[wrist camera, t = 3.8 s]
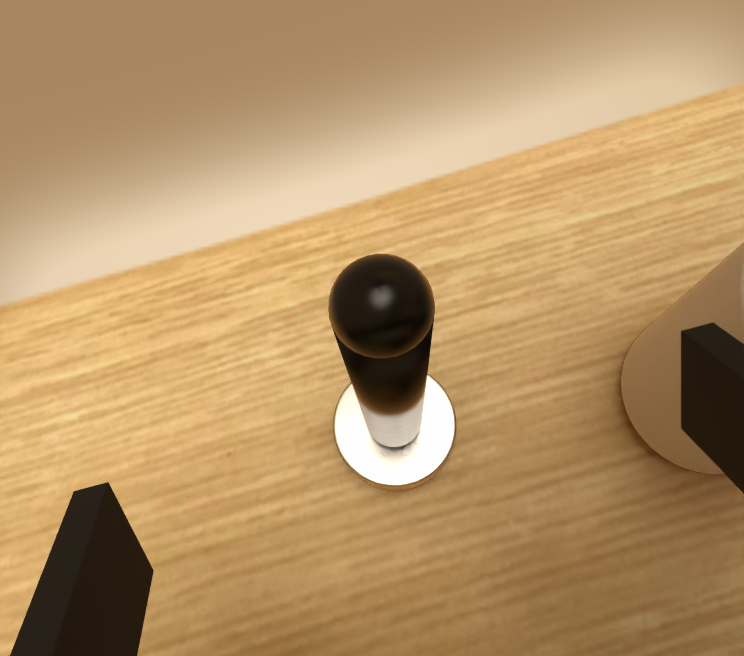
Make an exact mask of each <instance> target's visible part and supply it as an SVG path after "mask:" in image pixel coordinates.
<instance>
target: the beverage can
mask: <svg viewBox="0 0 744 656" xmlns="http://www.w3.org/2000/svg"><path fill="white" fill-rule="evenodd" d="M712 322H714V323H715V324H716V325H718V326H719V327H721V328H722V329H723V330H725V331H726V332H728V333H729V334H730V335H732V336H733V337H735V338H736V339H737V340H739V341H740V342H742V343H743V344H744V243H743V244H741V245H740V246H739V247H738V248H737V249H736V250H735V251H734V252H732V253H731V254H730V255H729V256H728V257H727V258H726V259H724V260H723V261H722V262H721V263H720V264H719V265H718V266H717V267H715V268H714V269H713V270H712V271H711V272H710V273H709V274H707V275H706V276H705V277H704V278H703V279H702V280H701V281H700V282H698V283H697V284H696V285H695V286H694V287H693V288H692V289H690V290H689V291H688V292H687V293H686V294H685V295H684V296H683V297H681V298H680V299H679V300H678V301H677V302H676V303H675V304H673V305H672V306H671V307H670V308H669V309H668V310H667V311H666V312H664V313H663V314H662V315H661V316H660V317H659V318H658V319H656V320H655V321H654V322H653V323H652V324H651V325H650V326H649V327H647V328H646V329H645V330H644V331H643V332H642V333H641V334H640V335H639V336H638V337H637V339H636V340H635V341H634V342H633V344H632V345H631V347H630V349H629V351H628V353H627V355H626V358H625V361H624V364H623V368H622V375H621V390H622V397H623V402H624V405H625V409H626V412H627V414H628V416H629V418H630V421H631V422H632V424H633V426H634V427H635V429H636V431H637V432H638V433H639V435H640V436H641V437H642V439H643V440H644V441H645V442H646V443H647V444H648V445H649V446H650V447H651V448H652V449H653V450H654V451H656V452H657V453H658V454H660V455H661V456H662V457H664V458H665V459H667V460H669V461H670V462H672V463H674V464H676V465H678V466H680V467H683V468H686V469H689V470H692V471H696V472H701V473H707V474H725V473H724V472H723V471H722V470H721V469H720V468H719V467H718V466H717V465H716V464H715V463H714V462H713V461H712V460H711V459H710V458H709V457H708V456H707V455H706V454H705V453H704V452H703V451H702V450H701V449H700V448H699V447H698V446H697V445H696V444H695V443H694V442H693V441H692V439H691V438H690V437H689V436H688V435H687V434H686V433H685V432H684V431H683V430H682V429H681V331H682V330H686V329H690V328H693V327H697V326H701V325H705V324H708V323H712Z"/></svg>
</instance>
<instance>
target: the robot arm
mask: <svg viewBox="0 0 744 656" xmlns="http://www.w3.org/2000/svg"><path fill="white" fill-rule="evenodd" d="M681 429H682V430H683V431H684V432H685V433H686V434H687V435H688V436H689V437H690V438H691V439H692V441H693V442H694V443H695V444H696V445H697V446H698V447H699V448H700V449H701V450H702V451H703V452H704V453H705V454H706V455H707V456H708V457H709V458H710V459H711V460H712V461H713V462H714V463H715V464H716V465H717V466H718V467H719V468H720V469H721V470H722V471H723V472H724V473H725V474H726V475H727V476H728V478H729V479H730V480H731V481H732V482H733V483H734V484H735V485H736V486H737V487H738V488H739V489H740V490H741V491H742V492H743V493H744V344H743V343H742V342H740V341H739V340H737V339H736V338H735V337H733V336H732V335H730V334H729V333H728V332H726V331H725V330H723V329H722V328H721V327H719V326H718V325H716V324H715V323H714V322H712V323H708V324H705V325H701V326H697V327H693V328H690V329H686V330H682V331H681ZM152 576H153V569H152V567H151V565H150V563H149V561H148V559H147V557H146V555H145V553H144V551H143V549H142V547H141V545H140V543H139V541H138V539H137V537H136V535H135V533H134V532H133V530H132V528H131V526H130V524H129V522H128V520H127V518H126V516H125V514H124V512H123V510H122V508H121V506H120V504H119V502H118V500H117V498H116V496H115V494H114V492H113V490H112V489H111V487H110V485H109V483H108V482H107V483H104V484H100V485H96V486H92V487H89V488H85V489H81V490H77V491H74V492H73V495H72V498H71V500H70V503H69V505H68V508H67V510H66V513H65V516H64V518H63V521H62V523H61V526H60V528H59V531H58V534H57V536H56V539H55V541H54V544H53V546H52V549H51V552H50V554H49V557H48V559H47V562H46V564H45V567H44V570H43V572H42V575H41V577H40V580H39V582H38V585H37V588H36V590H35V593H34V595H33V598H32V601H31V603H30V606H29V608H28V611H27V613H26V616H25V619H24V621H23V624H22V626H21V629H20V631H19V634H18V637H17V639H16V642H15V644H14V647H13V649H12V652H11V655H10V656H137V653H138V648H139V643H140V638H141V633H142V628H143V622H144V617H145V612H146V607H147V602H148V597H149V592H150V586H151V581H152Z"/></svg>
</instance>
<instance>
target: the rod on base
mask: <svg viewBox="0 0 744 656" xmlns="http://www.w3.org/2000/svg"><path fill="white" fill-rule="evenodd" d="M328 309H329V318H330V322H331V326H332V328H333V331H334V334H335V337H336V340H337V343H338V346H339V348H340V351H341V354H342V357H343V360H344V363H345V366H346V368H347V371H348V374H349V377H350V380H351V383H350V384H349V385H348V386H347V387H346V389H345V390H344V391H343V393H342V395H341V396H340V398H339V401H338V403H337V405H336V409H335V412H334V419H333V432H334V438H335V442H336V446H337V448H338V451H339V453H340V455H341V456H342V458H343V460H344V461H345V462H346V464H347V465H348V466H349V468H350V469H351V470H352V471H353V472H354V473H355V474H356V475H357V476H358V477H359V478H360V479H362V480H363V481H364V482H366V483H368V484H370V485H372V486H374V487H377V488H380V489H384V490H392V491H400V490H407V489H411V488H414V487H417V486H419V485H422V484H423V483H425V482H427V481H428V480H430V479H431V478H432V477H433V476H435V475H436V474H437V472H438V471H439V470H440V469H441V468H442V466H443V465H444V463H445V462H446V460H447V458H448V456H449V454H450V452H451V449H452V447H453V444H454V440H455V435H456V417H455V411H454V408H453V405H452V402H451V400H450V398H449V396H448V394H447V393H446V391H445V390H444V388H443V387H442V386H441V385H440V384H439V383H438V382H437V381H436V380H435V379H434V378H433V377H431V376H430V375H429V374H427V372H428V364H429V355H430V347H431V338H432V330H433V321H434V313H435V302H434V297H433V293H432V289H431V287H430V284H429V282H428V280H427V279H426V277H425V276H424V275H423V273H422V272H421V271H420V270H419V269H418V268H417V267H416V266H414V265H413V264H412V263H410V262H409V261H407V260H405V259H403V258H401V257H398V256H395V255H389V254H374V255H368V256H365V257H363V258H360V259H358V260H356V261H354V262H353V263H351V264H350V265H348V266H347V267H346V268H345V269H344V270H343V271H342V272H341V274H340V275H339V276H338V278H337V279H336V281H335V283H334V285H333V287H332V289H331V292H330V296H329V308H328Z"/></svg>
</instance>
